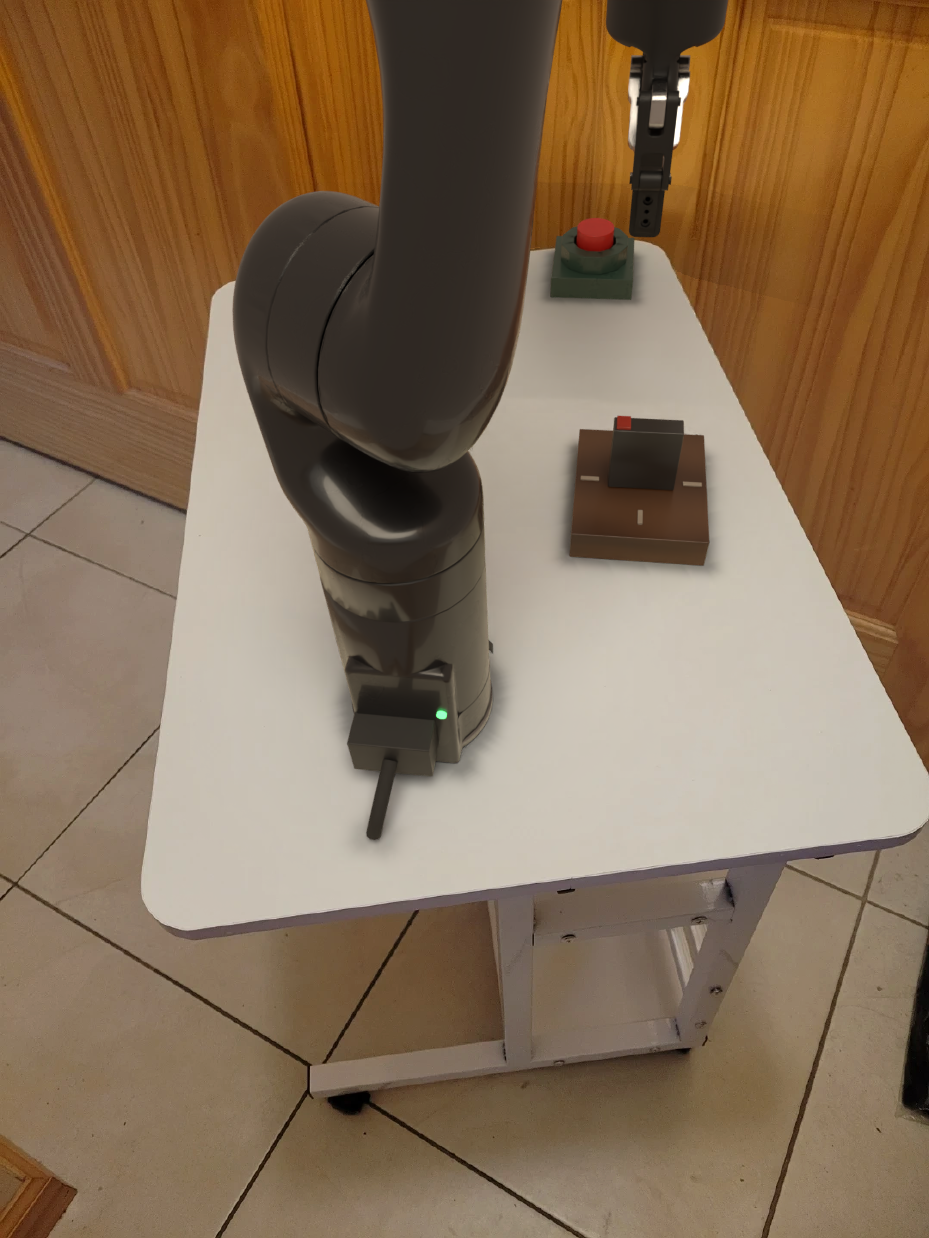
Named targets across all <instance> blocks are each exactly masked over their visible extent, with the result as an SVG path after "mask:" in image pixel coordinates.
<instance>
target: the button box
mask: <svg viewBox="0 0 929 1238" xmlns="http://www.w3.org/2000/svg"><path fill="white" fill-rule="evenodd" d="M577 227H578V225H577V226H573V227H571V228H570V229H568V231H566V232H565V233H563V234H562V235H556V238H555V244H554V245H555V246H554V247H555V248H554V252H553V253H554V254H553V260H552V269H551V275H550V298H558V299H559V298H560V299H561V298H562V299H563V298H564V299H593V300H620V301H621V300H622V301H625V300H626V301H632V294H633V286H634V270H635V269H634V265H635V237H629V236H628V235H627V234H626V233H625V232H624V231H623V230H622V229H621V228H618V227H615V226H614V238H613V246H612V247H611V248H610V249H607V250H604V251H586V250H583V249H580V248H578V247H577Z"/></svg>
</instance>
